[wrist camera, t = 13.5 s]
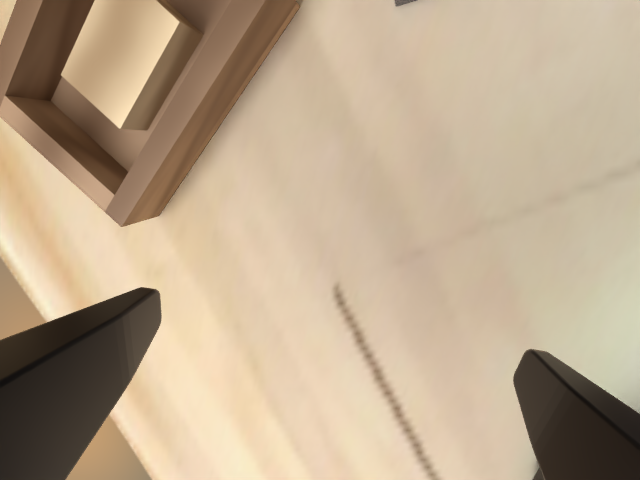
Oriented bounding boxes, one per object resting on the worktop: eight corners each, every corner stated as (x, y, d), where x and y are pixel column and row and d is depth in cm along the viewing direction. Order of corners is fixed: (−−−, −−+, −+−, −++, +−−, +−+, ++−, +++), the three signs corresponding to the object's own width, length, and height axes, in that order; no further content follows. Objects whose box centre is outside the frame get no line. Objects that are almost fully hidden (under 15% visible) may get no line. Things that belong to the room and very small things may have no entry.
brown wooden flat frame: (300, 6, 17) (279, -22, 14) (158, 216, 21) (121, 227, 18) (144, -139, 16) (90, -198, 14) (36, 104, 21) (-20, 98, 18)
